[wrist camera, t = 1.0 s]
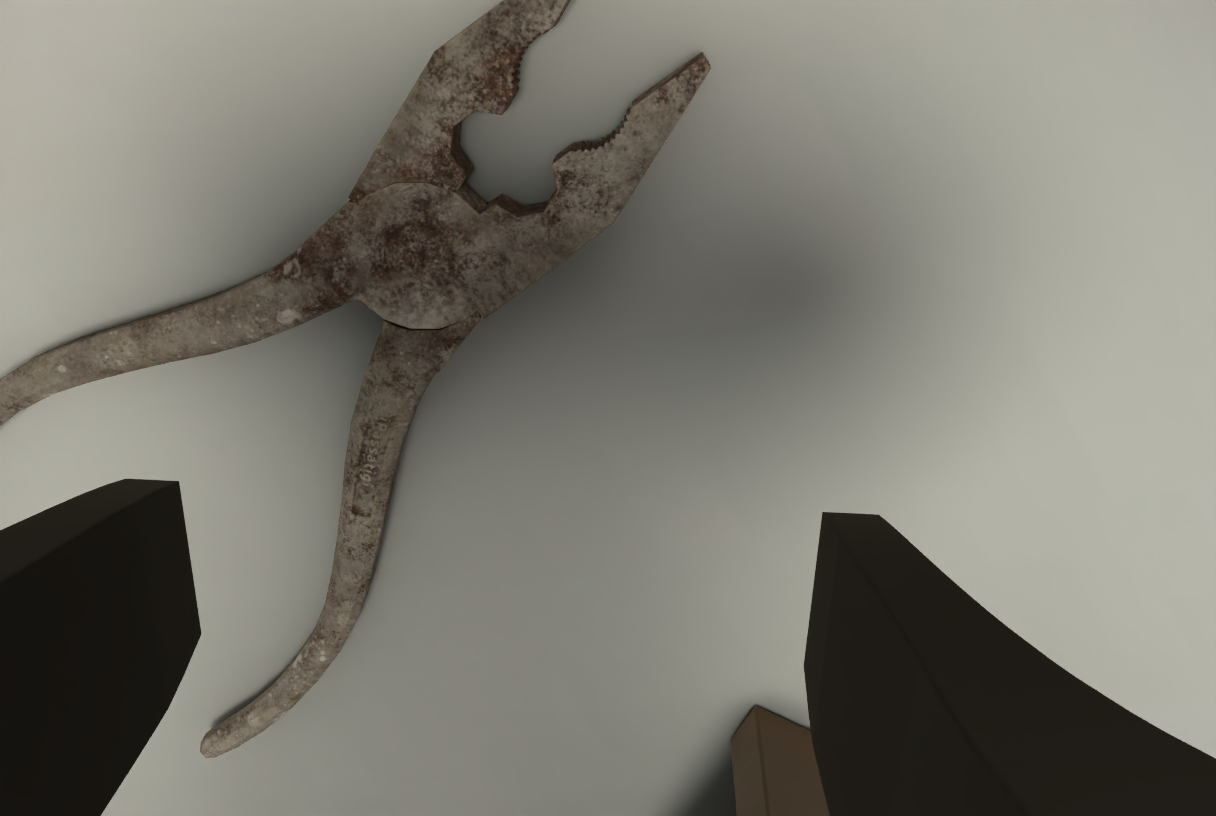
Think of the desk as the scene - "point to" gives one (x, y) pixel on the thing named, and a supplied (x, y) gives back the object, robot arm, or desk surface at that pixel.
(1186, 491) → the desk surface
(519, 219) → the pliers
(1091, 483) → the desk surface
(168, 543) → the robot arm
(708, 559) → the desk surface
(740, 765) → the brown wooden bridge block
